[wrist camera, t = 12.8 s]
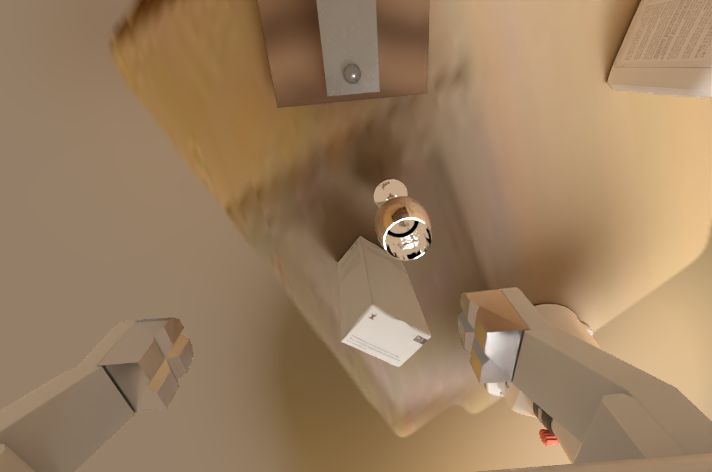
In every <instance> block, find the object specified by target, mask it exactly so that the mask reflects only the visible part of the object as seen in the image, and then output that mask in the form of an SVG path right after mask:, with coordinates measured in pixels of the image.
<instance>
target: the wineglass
mask: <svg viewBox="0 0 712 472" xmlns="http://www.w3.org/2000/svg"><path fill="white" fill-rule="evenodd" d="M374 202H375V204H376V205H377V206H378V207H379V209H378V211H377V213H376V215H375V221H374V228H375V232H376V236H377V238H378V240H379V242H380V244H381V245H382V247H383V248H384V249H385V250H386V252H387V253H388V254H389V255H390V256H392V257H393V258H395V259H398V260H404V261H407V260H413V259H416V258H418V257H420V256H421V255H423V254H424V253H425V252H426V251H427V250H428V248H429V247H430V244H431V241H432V227H431V221H430V218H429V215H428V213H427V211H426V209H425V208H424V207H423V205H422V204H420V203H419V202H418V201H416V200H415V199H413V198H410V197H408V191H407V188H406V186H405V185H404V184H403V183H402V182H401V181H399V180H396V179H387V180H384V181H382V182H381V183H380V184H379V185H378V186H377V187H376V189H375V191H374Z"/></svg>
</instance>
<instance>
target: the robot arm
mask: <svg viewBox="0 0 712 472" xmlns="http://www.w3.org/2000/svg"><path fill="white" fill-rule="evenodd" d="M460 306H461V308H462V310H463V311H462V313H461V314H460V315H459V316H458V329H459V336H460V339H461V342H462V345H463V347H464V349H465V350H466V351H468V352H469V353H471V358H470V363H471V366H472V368H473V370H474V372H475V375H476V377H477V379H478V381H479V384H480V383H485V385H486V389H487V391H488V392H489V393H490V394H493V395H496V396H503V397H505V399H506V401H507V403H508V405H509V406H510V408H511V409H512V410H513V411H515V412H517V413H519V414H523V415H528V416H533V417H537V418H538V419H539V421H540V422H541V423H542V424H543V425H544V426H545V427H546V428H547V429H548V430H545V429H541V430H540V431H539V434H540V437H541V439H542V442H543V444H545V445H546V446H548V445H552V444H556V445H558V444H559V443H560V445H561V446H562V448H563V450H564V452H565V453H566V455H567V457H568V459H569V460H570V462H571V464H567V465H554V466H542V467H529V468H516V469H503V470H491V471H479V472H712V421H711V420H710V419H708V418H707V417H706V416H705V415H704V414H703V413H702V412H701V411H700V410H699V409H698V408H697V407H696V406H695V405H694V404H693V403H692V402H691V401H689V400H688V399H687V398H686V397H685V396H684V395H683V394H682V393H681V392H680V391H679V390H678V389H677V388H675V387H674V386H672V385H670V384H667V383H666V382H664V381H662V380H659V379H658V378H656V377H654V376H652V375H650V374H648V373H646V372H644V371H642V370H640V369H638V368H636V367H634V366H632V365H630V364H628V363H626V362H624V361H622V360H620V359H618V358H616V357H614V356H613V355H611V354H609V353H606V352H605V351H603V350H602V349H601V348H600V346H599V345H598V344H597V342H596V341H595V340H594V339H593V337H592V336H593V331H592V330H591V329H590V327H589V326H587V325H585V324H583V323H581V322H580V321H579V320H578V318H577V317H576V315H575V314H574V312H572V311H571V310H570V309H568V308H567V307H564V306H561V305H556V304H542V305H536V306H533V305H532V303H531V302H530V301H529V300H528V299H527V297H526V296H525V295H524V294H523V293H522V291H521V290H520V289H518V288H517V287H512V288H502V289H497V290H486V291H475V292H464V293H462V294H461V297H460ZM183 329H184V327H183V325H182V323H181V321H180V319H178V318H159V319H143V320H133V321H132V320H131V321H123V322H120V323H118V324H117V325H116V326H115V327H114V328H113V329H112V330H111V331H110V332H109V333H108V334H107V335H106V336H105V337H104V338H103V339H102V340H101V342H100V343H99V344H98V345H97V346H96V347H95V348H94V349H93V350H92V351H91V352H90V353H89V354H88V356H87V357H86V358H85V359H84V360H83V361H82V362H81V363H80V364H79V365H78V366H77V367H76V368H75V369H69V370H67V371H65V372H64V373H62V374H60V375H59V376H57V377H55V378H54V379H52V380H50V381H49V382H47V383H45V384H44V385H42V386H40V387H38V388H37V389H35V390H33V391H32V392H30V393H28V394H27V395H25V396H23V397H22V398H20V399H18V400H16V401H15V402H13V403H11V404H10V405H8V406H6V407H5V408H3V409H1V410H0V472H74V471H76V470H77V469H78V468H79V467H80V466H81V465H82V464H83V463H84V462H85V461H86V460H87V459H88V458H89V457H90V456H92V455H93V454H94V453H95V452H96V451H97V450H98V449H99V448H100V447H101V446H102V445H103V444H104V443H105V442H106V441H107V440H109V439H110V438H111V437H112V436H113V435H114V434H115V433H116V432H117V431H118V430H119V429H120V428H121V427H122V426H123V425H124V424H125V423H127V422H128V421H129V420H130V419H131V418H132V417H133V416H134V415H135V413H138V412H147V411H155V410H165V409H167V408H168V406H169V404H170V402H171V401H172V399H173V397H174V395H175V393H176V391H177V390H178V388H179V384H178V379H179V378H180V377H182V376H183V375H184V374H185V373H187V371H188V369H189V367H190V365H191V362H192V357H193V348H192V344H191V342H190V339H189V338H187V337H186V336H184V335H183V334H181V333H182V331H183Z"/></svg>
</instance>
